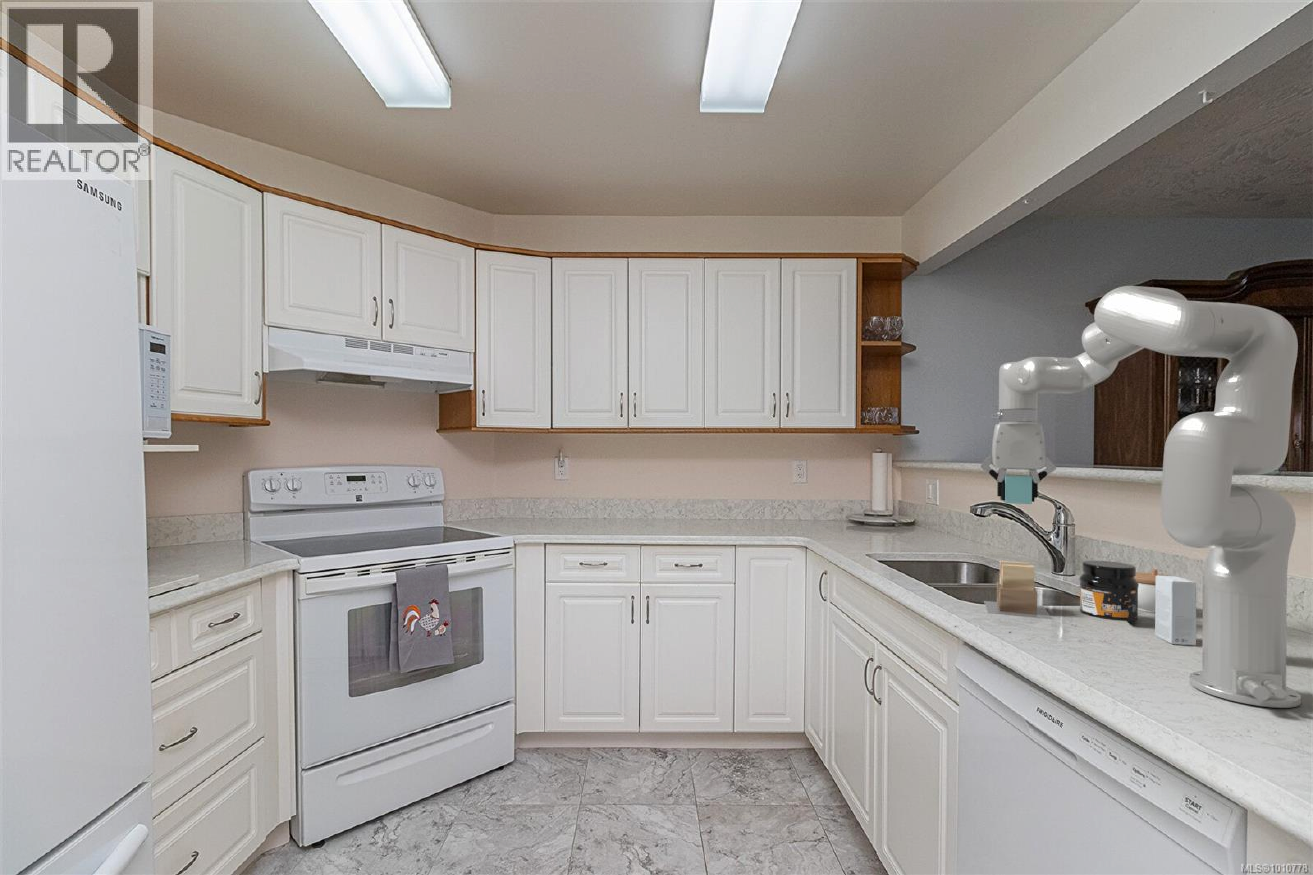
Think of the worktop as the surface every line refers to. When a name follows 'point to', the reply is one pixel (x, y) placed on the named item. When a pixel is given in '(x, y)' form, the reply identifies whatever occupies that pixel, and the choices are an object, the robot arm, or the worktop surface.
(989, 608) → the slate board
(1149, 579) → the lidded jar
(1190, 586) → the skincare box
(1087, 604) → the supplement container
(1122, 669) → the worktop surface
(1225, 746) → the worktop surface
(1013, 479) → the teal block
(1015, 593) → the walnut base block
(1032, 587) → the oak mid block
